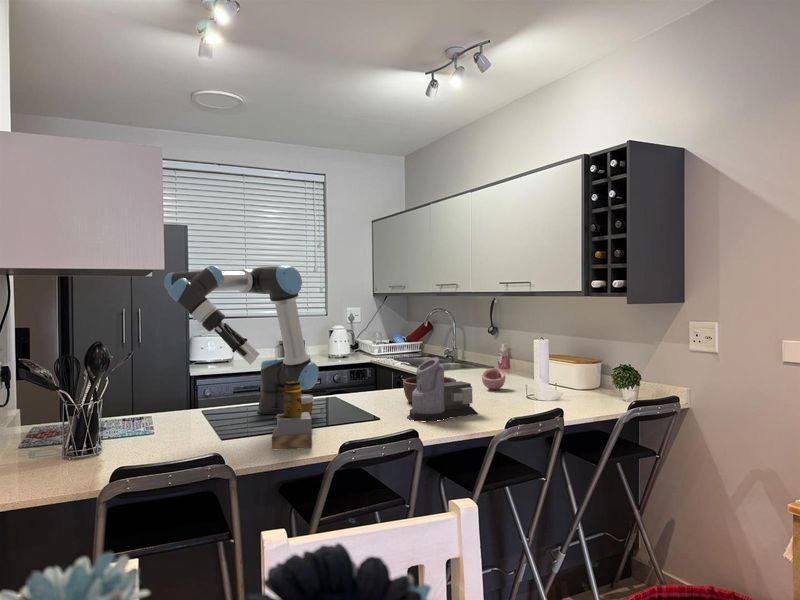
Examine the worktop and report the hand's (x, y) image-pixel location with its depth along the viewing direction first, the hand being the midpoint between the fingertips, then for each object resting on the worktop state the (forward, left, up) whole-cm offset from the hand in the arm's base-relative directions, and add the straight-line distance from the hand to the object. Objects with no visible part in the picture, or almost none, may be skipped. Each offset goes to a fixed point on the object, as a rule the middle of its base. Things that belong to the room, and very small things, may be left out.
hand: (255, 359), depth 189 cm
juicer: (+42, +65, -30) cm, 83 cm away
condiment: (+10, +5, -20) cm, 23 cm away
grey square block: (+11, +6, -25) cm, 28 cm away
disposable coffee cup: (-1, +26, -30) cm, 40 cm away
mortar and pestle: (+45, +129, -30) cm, 140 cm away
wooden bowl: (+26, +89, -30) cm, 98 cm away
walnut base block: (+10, +6, -30) cm, 32 cm away
